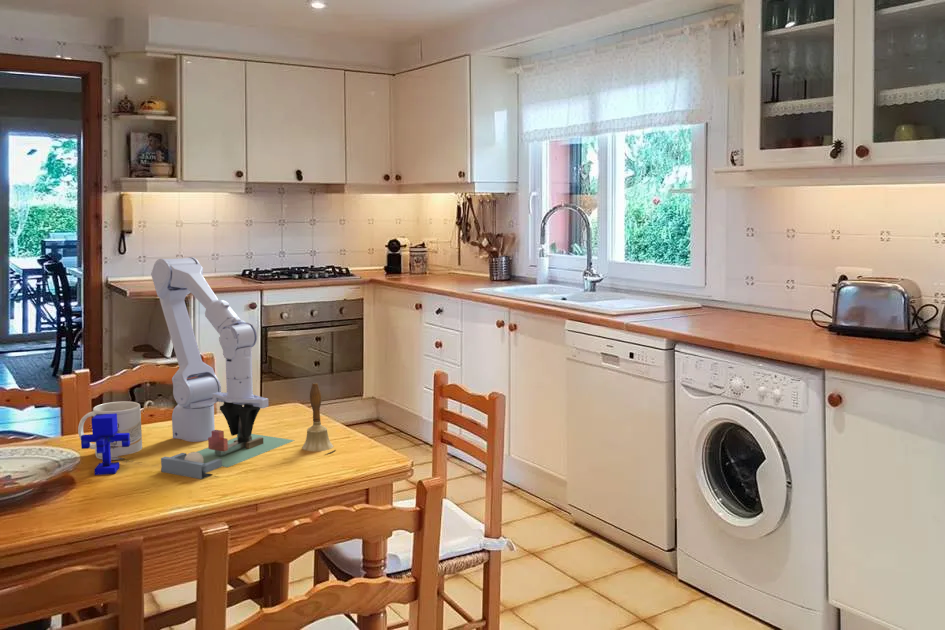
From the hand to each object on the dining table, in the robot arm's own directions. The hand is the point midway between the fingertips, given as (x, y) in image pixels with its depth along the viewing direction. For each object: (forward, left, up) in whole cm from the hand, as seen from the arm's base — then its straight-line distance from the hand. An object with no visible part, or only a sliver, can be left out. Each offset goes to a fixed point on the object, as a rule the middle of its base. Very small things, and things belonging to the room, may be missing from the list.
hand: (241, 435), depth 191 cm
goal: (0, -16, -4) cm, 16 cm away
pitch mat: (0, -1, -4) cm, 4 cm away
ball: (0, -15, -2) cm, 15 cm away
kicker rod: (0, -3, -3) cm, 4 cm away
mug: (-25, -14, -4) cm, 29 cm away
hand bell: (+15, +8, -4) cm, 18 cm away
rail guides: (0, +2, -3) cm, 4 cm away
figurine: (-16, -24, -4) cm, 29 cm away
